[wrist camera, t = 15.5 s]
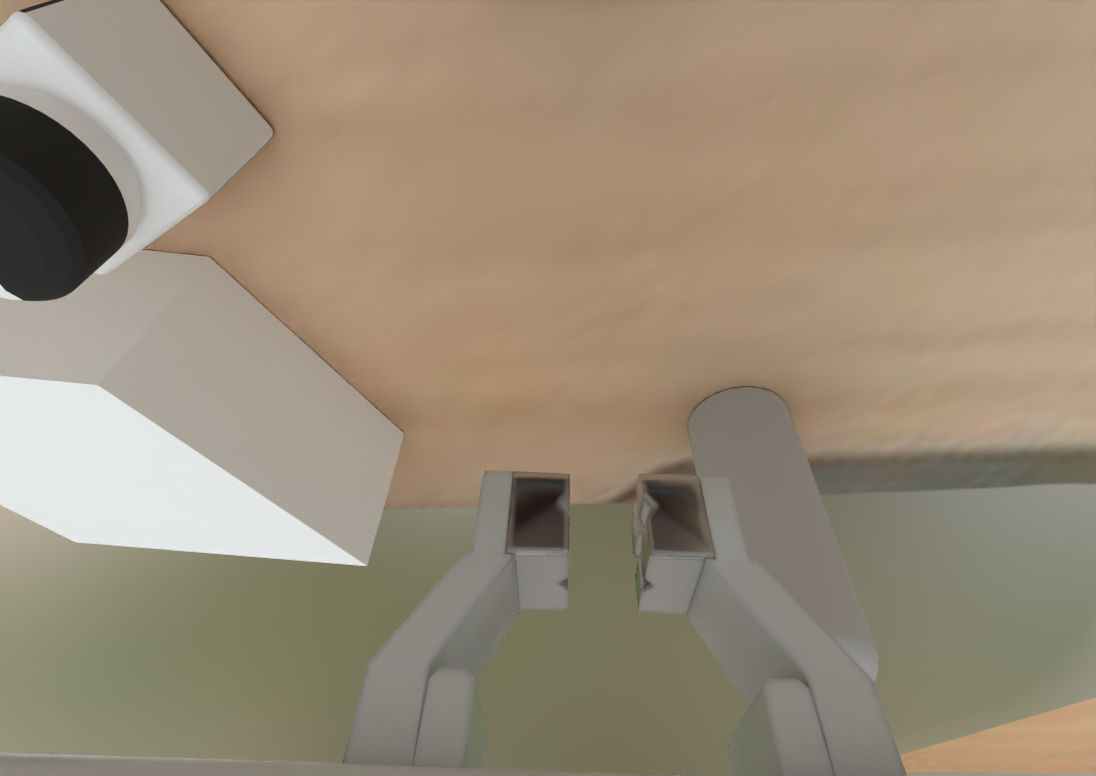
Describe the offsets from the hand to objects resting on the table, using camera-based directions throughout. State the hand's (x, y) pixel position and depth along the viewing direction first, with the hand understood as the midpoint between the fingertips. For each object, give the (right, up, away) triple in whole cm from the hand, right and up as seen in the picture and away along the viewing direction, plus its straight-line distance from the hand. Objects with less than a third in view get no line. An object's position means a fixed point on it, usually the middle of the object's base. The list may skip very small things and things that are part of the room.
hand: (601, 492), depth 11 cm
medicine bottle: (-18, +15, +16) cm, 29 cm away
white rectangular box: (-23, +5, +26) cm, 35 cm away
